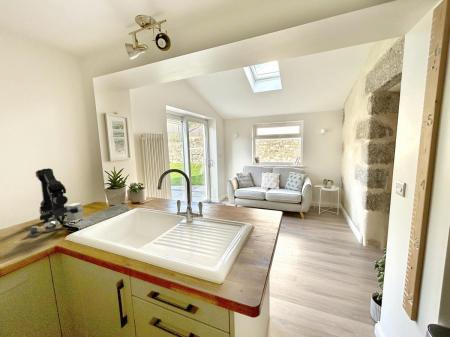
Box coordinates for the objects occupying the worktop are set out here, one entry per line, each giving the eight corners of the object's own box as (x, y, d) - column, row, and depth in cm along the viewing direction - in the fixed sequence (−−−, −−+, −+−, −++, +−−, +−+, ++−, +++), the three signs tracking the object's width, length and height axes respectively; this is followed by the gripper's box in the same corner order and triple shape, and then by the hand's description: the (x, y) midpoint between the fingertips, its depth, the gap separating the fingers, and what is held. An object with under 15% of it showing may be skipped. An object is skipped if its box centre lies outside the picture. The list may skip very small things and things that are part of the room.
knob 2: (48, 224, 135) (47, 219, 135) (49, 222, 139) (48, 218, 138) (63, 221, 140) (62, 216, 140) (63, 219, 143) (62, 215, 143)
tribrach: (32, 228, 134) (31, 221, 134) (72, 219, 147) (71, 213, 146) (26, 238, 119) (25, 230, 118) (71, 227, 132) (70, 221, 131)
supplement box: (75, 223, 140) (72, 206, 138) (66, 222, 141) (64, 205, 140) (84, 219, 147) (82, 202, 145) (76, 218, 148) (73, 202, 147)
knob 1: (28, 233, 122) (27, 228, 121) (34, 230, 126) (33, 225, 125) (41, 232, 122) (41, 227, 122) (47, 229, 126) (46, 225, 125)
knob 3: (64, 224, 134) (63, 219, 134) (70, 223, 134) (69, 219, 134) (54, 229, 126) (53, 224, 126) (61, 228, 127) (60, 224, 126)
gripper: (36, 209, 114) (41, 234, 116) (76, 201, 125) (80, 225, 127) (38, 205, 123) (43, 228, 125) (76, 198, 134) (79, 220, 136)
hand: (62, 225), depth 128 cm, fingers closed
